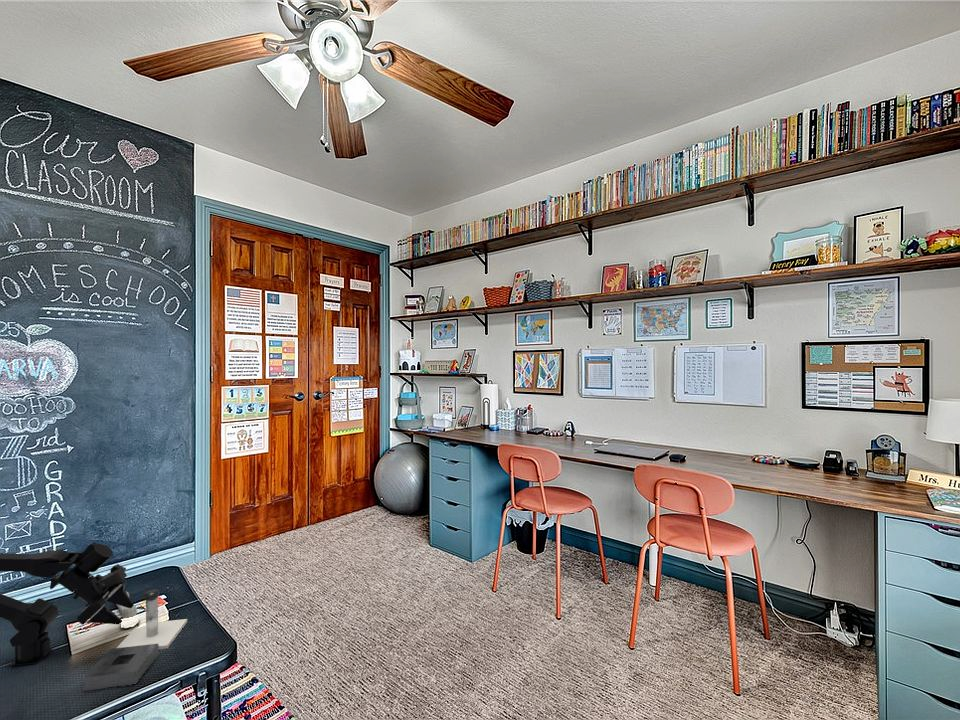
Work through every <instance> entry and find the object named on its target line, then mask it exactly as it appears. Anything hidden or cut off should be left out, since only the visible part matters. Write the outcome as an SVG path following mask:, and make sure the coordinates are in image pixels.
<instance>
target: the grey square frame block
mask: <svg viewBox="0 0 960 720" xmlns="http://www.w3.org/2000/svg"><path fill="white" fill-rule="evenodd" d="M158 657H159V650H158V644H149V645H140V646H131V647H123V648H117V647H116V648H111V649H110V650H109V651H107V652H106V654H104V655H103V657H102V658H101V659H100V660H99V661H98V662H97V663H96V664H95V665H93V667H92V668H91V669H90V670H89V671H88V672H87V673H86V675H84V677H83V692H88V691H96V690H103V688H105V689H109V688H108V687H113V686H114V687H113V688H118V687H117V686H121V687H126V685H129V686H133V685H132V684H136V683H137V682H138V681H139V682H140V680H141V679H142V678H141V676H142V675H143V674H144V673H145V674H146V672H147V671H148V670H149V669H148V668H150V667H151V666H152V665H151V664H154V662H155V661H156V660H157V658H158ZM154 660H155V661H154ZM150 665H151V666H150ZM149 666H150V667H149ZM147 669H148V670H147ZM146 670H147V671H146ZM145 671H146V672H145ZM145 674H144V675H145ZM144 675H143V676H144ZM143 676H142V677H143ZM140 678H141V679H140ZM139 679H140V680H139ZM137 684H138V683H137ZM137 684H136V685H137Z"/></svg>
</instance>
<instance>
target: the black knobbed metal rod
mask: <svg viewBox="0 0 960 720" xmlns="http://www.w3.org/2000/svg"><path fill="white" fill-rule="evenodd" d="M159 596H160V590H159V589H158V588H155V589H149V590H148V591H146V592H145V593H144V600H145V623H146V637H153V636H155V635H157V634H158V622H159Z"/></svg>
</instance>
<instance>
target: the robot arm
mask: <svg viewBox="0 0 960 720" xmlns="http://www.w3.org/2000/svg"><path fill="white" fill-rule="evenodd" d="M113 556H114V553H113V550H112V548H111V547H109V545H105V544H103V543H97V542H95V541H92V543H90V544H89V545H87V547H86V548H85V550H83V551H82V552H73V551H72V552H71V551H69V552H68V551H67V550H64V549H55V550H47V551H42V552H37V553H8V552H7V553H5V552H4V553H3V552H2V553H1V552H0V572H16V573H17V572H19V573H20V572H21V573H26V574H27V575H30V576H32V577H36V578H41V579H42V578H44V579H49V578H50V580H49V581H50V586H49V589H50V590H53V589H54V588H55V587H57V586H58V585H60V586H62V587H63V588H65V589H67V590H68V591H69V592H71V593H72V594H73V595H74V596H73V597H72V599H74V600H78V598H79V599H81V600H83V602H85V603H86V604H85V605H84V606H85V608H84V609H82V611H81V612H79V614H78V615H77V618H76V620H77V621H76V622H78V623H79V624H81V625H82V626H83V625H84V624H88V625H89V624H109V625H117V626H118V625H120V623H121V622H122V620H121V619H120V618H121V617H119V616H118V615H117V614H116V613H115V612H114V611H113V610H111V609H110V603H112V604H115V605H116V604H117V605H121V606H124V607H127V608H132V607H133V606H134V605H135V604H134V603H133V601H132V600H131V598H130V595H129V596H128V595H127V593H126V592H127V591H126V584H127V581H126V580H127V576H128V575H127V573H126V569H127V568H126V567H124V566H123V565H120V564H119V563H118V564H115V565H113V566H112V567H111V568H110V572H107V574H105V575H103V576H102V575H101V574H96V575H95V576H94V575H93V574H92V573H95V572H96V571H98V570H99V569H100V568H101V567H102V566H103V565H104V564H105V563H106V562H108V561H109V559H111V558H112V557H113ZM73 565H75V566H73ZM72 566H73V567H72ZM59 573H60V574H59ZM57 574H59V575H57ZM54 604H55V603H54V602H49V601H46V600H45V599H43V598H40V597H39V598H37V599H36V600H35V601H34V602H24V601H21V600H18V599H15V598H13V597H11V596H8V595H5V594H2V593H0V619H3V620H6V621H8V622H10V623H11V625H12V626H13V627H14V628H13V629H14V630H15V631H17V633H16V634H14V635H13V636H12V637H11V638H10V639H9V643H10V645H11V646H12V647H14V660H13V662H11V663H10V665H9V666H10V667H17V666H26V665H34V664H38V663H39V662H40V661H41V660H43V658H45V657H46V656H47V655H49V654H50V653H51V652H52V651H53V647H51V638H50V637H49V631H47V630H48V629H50V627H51V626H52V624H53V623H54V622H55V621H56V620H57V619H58V617H59V609H58V607H57V606H55V605H54ZM117 605H116V606H117Z"/></svg>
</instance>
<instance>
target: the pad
mask: <svg viewBox="0 0 960 720" xmlns="http://www.w3.org/2000/svg"><path fill="white" fill-rule="evenodd" d="M187 623H188V618H184V619H183V618H182V619H174V620H166V621H165V620H164V621H158V634H157V635H155V636H153V637H146V626H143V627H140V628H136V627H135V628H136V629H135V628H133V630H132V631H131V632H130V633H129V634H128V635H127V636H126V637H125V638H124V639H123V640H122V642H121V643H119V645H118V646H117V647H116V648H123V647H131V646H140V645H149V644H158V651H159V650H167V649H169V647H170V646H171V644H172V643H173V641H174V640H175V639H176V638H177V636H178V635H179V634H180V632H181V631H182V630H183V629H182V628H184V627H185V626H186V625H187Z"/></svg>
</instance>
